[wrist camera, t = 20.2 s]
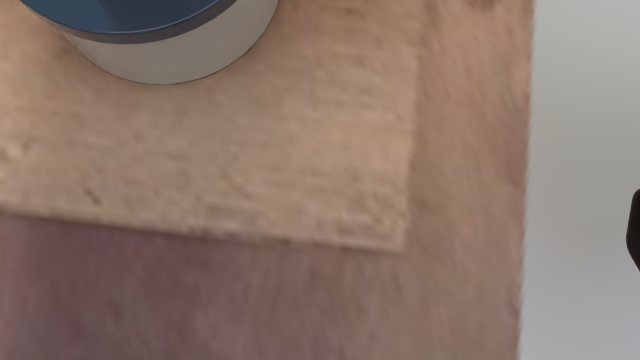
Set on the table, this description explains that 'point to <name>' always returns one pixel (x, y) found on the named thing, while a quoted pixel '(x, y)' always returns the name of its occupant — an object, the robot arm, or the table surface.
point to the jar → (158, 34)
